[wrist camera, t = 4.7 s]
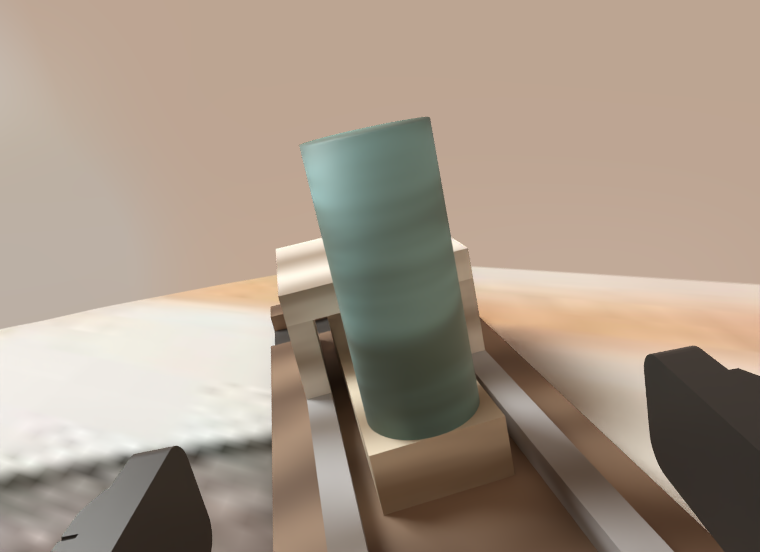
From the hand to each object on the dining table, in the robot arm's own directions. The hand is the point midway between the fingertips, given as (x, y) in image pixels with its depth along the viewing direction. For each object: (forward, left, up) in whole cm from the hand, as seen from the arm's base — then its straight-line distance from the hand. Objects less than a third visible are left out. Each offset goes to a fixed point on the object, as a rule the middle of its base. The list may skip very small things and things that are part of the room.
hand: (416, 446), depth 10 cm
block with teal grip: (+17, -2, -8) cm, 19 cm away
